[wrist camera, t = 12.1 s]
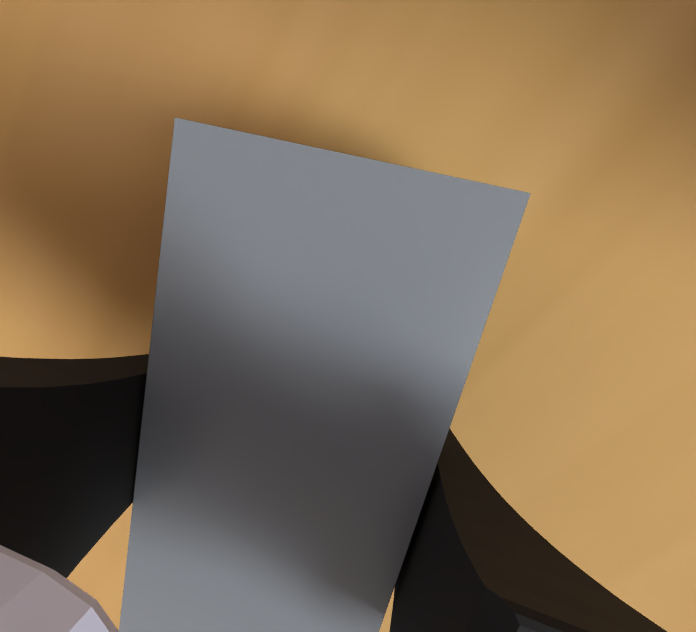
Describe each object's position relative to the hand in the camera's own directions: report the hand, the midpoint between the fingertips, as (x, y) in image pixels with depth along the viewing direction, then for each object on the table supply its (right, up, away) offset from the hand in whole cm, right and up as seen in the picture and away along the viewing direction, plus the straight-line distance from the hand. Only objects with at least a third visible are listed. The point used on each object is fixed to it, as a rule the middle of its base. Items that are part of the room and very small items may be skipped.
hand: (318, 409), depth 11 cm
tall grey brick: (0, +1, +2) cm, 2 cm away
